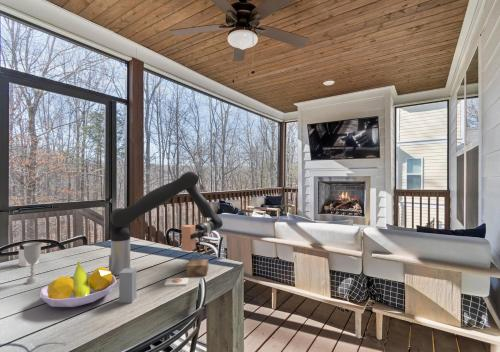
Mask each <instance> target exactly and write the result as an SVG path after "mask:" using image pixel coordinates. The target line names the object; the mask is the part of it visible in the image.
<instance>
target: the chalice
mask: <svg viewBox="0 0 500 352" xmlns="http://www.w3.org/2000/svg"><path fill="white" fill-rule="evenodd" d="M42 244H43V242H42V241H41V242H40V241H35V242H34V243H27V244H24V245H23V247H24V257H25V259H26V261H27V262H28V263H29V264H31V266H30V272H29V273H30V276H29V277H28V278H27V280H26V282H25V285H33V284H34V285H35V284H36V283H37V284H38V283H39V282H40V280H39V278H38V276H35V265H34V263H36V262H37V260H38V259H39V258H40V256H41V254H42V250H41V249H42ZM39 260H40V259H39Z"/></svg>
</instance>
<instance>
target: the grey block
mask: <svg viewBox="0 0 500 352" xmlns="http://www.w3.org/2000/svg"><path fill="white" fill-rule="evenodd" d="M137 270H138V268H137V267H136V268H135V267H133V268H131V267H130V268H126V269H123V270H122V271H121V272H120V273H119V275H118V280H119V281H118V286H119V287H118V304H133V302H134V301H135V300H136V299H137V294H138V293H137V289H138V288H137V285H138V284H137V283H138V282H137V277H138V276H137V274H138V273H137V272H138V271H137Z"/></svg>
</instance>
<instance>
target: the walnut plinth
mask: <svg viewBox="0 0 500 352" xmlns="http://www.w3.org/2000/svg"><path fill="white" fill-rule="evenodd" d="M208 272H209V259H207V258H206V259H199V258H198V259H189V260H188V262H187V264H186V277H187V276H207V275H208Z"/></svg>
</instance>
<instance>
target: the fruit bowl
mask: <svg viewBox="0 0 500 352" xmlns="http://www.w3.org/2000/svg"><path fill="white" fill-rule="evenodd" d="M117 282H118V281H117V279H116V277H115V275H112V273H111V272H110V271H109V269H107V268H106V267H105V266H102V267H96V268H95V269H94V270H93V271H92V272H91V273H86V270H84V268H83V266H82V265H81V261H78V262H77V265H76V268H75V270H74V273H73V275H72V276H69V277H68V276H58V277H57V278H55V279H54V280H53V281H51V282H50V283H48V285H46V286H44V287H42V288H41V289H40V294H39V297H40V298H41V300H43V302H44V303H46V304H47V305H49V306H50V307H51V308H52V307H53V308H58V307H59V308H77V307H80V306H83V305H86V304H90V303H94V302H95V301H98V300H99V299H101V298H102V297H105V296H107V295H108V294H111V291H112V290H113V288H114V286H115V285H116V283H117Z"/></svg>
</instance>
